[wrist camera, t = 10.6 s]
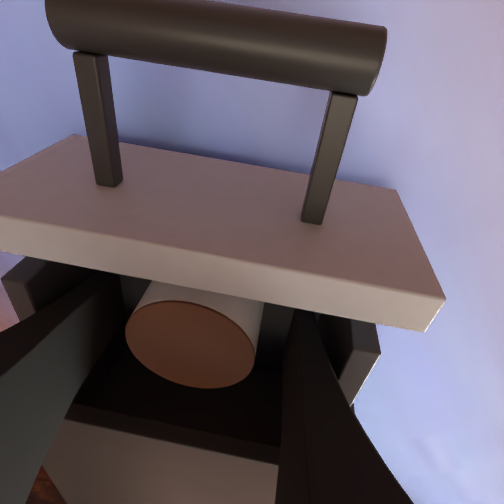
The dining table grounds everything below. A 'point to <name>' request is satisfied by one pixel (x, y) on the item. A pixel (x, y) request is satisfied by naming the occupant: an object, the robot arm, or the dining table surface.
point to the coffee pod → (195, 335)
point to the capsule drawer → (216, 210)
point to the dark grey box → (156, 462)
